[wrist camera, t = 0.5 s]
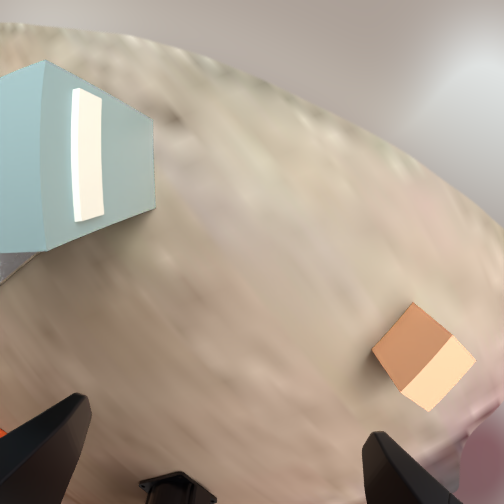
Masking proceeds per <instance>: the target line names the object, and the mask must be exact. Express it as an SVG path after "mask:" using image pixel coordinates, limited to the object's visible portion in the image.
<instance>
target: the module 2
mask: <svg viewBox="0 0 504 504" xmlns="http://www.w3.org/2000/svg"><path fill="white" fill-rule="evenodd" d="M371 350H372V351H373V353H374V354H375V356H376V357H377V359H378V360H379V361H380V363H381V364H382V366H383V367H384V369H385V370H386V372H387V373H388V375H389V376H390V378H391V379H392V381H393V382H394V384H395V385H396V387H397V388H398V390H399V391H400V393H402V394H403V395H405V396H406V397H408V398H409V399H411V400H412V401H414V402H415V403H417V404H418V405H420V406H421V407H422V408H424V409H425V410H427V411H428V412H429V411H430V410H431V409H432V408H433V407H434V406H435V405H436V404H437V403H438V402H439V401H440V400H441V399H442V398H443V397H444V396H445V395H446V394H447V393H448V392H449V391H450V390H451V389H452V388H453V386H454V385H455V384H456V383H457V382H458V381H459V380H460V379H461V378H462V377H463V375H464V374H465V373H466V372H467V371H468V370H469V368H470V367H471V366H472V365H473V364H474V363H475V361H476V360H475V359H474V358H473V357H472V355H471V354H470V353H469V352H468V351H467V350H466V349H465V348H464V347H463V346H462V345H461V343H460V342H459V341H458V340H457V339H456V338H455V337H454V336H453V335H452V334H451V333H450V332H448V331H447V330H446V329H445V328H444V327H443V326H441V325H440V324H439V323H438V322H437V321H435V320H434V319H433V318H432V317H431V316H429V315H428V314H427V313H426V312H424V311H423V310H422V309H421V308H420V307H418V306H417V305H416V304H415V303H412V304H411V305H410V307H409V308H408V309H407V310H406V311H405V312H404V314H403V315H402V316H401V317H400V318H399V320H398V321H397V322H396V323H395V324H394V325H393V326H392V328H391V329H390V330H389V331H388V332H387V333H386V334H385V335H384V336H383V338H382V339H381V340H380V341H379V342H378V343H377V344H376V345H375V346H374V347H373V348H372V349H371Z"/></svg>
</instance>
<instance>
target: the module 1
mask: <svg viewBox="0 0 504 504" xmlns="http://www.w3.org/2000/svg"><path fill="white" fill-rule="evenodd" d="M154 208H156V203H155V183H154V153H153V120H152V119H151V118H149V117H147V116H146V115H144V114H142V113H141V112H139V111H137V110H136V109H134V108H132V107H130V106H129V105H127V104H125V103H124V102H122V101H120V100H118V99H117V98H115V97H113V96H111V95H110V94H108V93H106V92H104V91H103V90H101V89H99V88H97V87H95V86H94V85H92V84H90V83H88V82H86V81H85V80H83V79H81V78H79V77H77V76H75V75H74V74H72V73H70V72H68V71H66V70H64V69H62V68H60V67H59V66H57V65H55V64H53V63H51V62H49V61H47V60H43V61H41V62H38V63H35V64H32V65H30V66H27V67H24V68H22V69H19V70H17V71H14V72H12V73H10V74H7V75H5V76H3V77H0V253H18V252H41V251H49V250H51V249H53V248H56V247H58V246H60V245H63V244H65V243H67V242H70V241H72V240H74V239H77V238H79V237H82V236H84V235H87V234H89V233H92V232H94V231H97V230H99V229H102V228H104V227H107V226H109V225H112V224H114V223H117V222H119V221H122V220H125V219H127V218H130V217H133V216H135V215H138V214H141V213H143V212H146V211H149V210H152V209H154Z"/></svg>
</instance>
